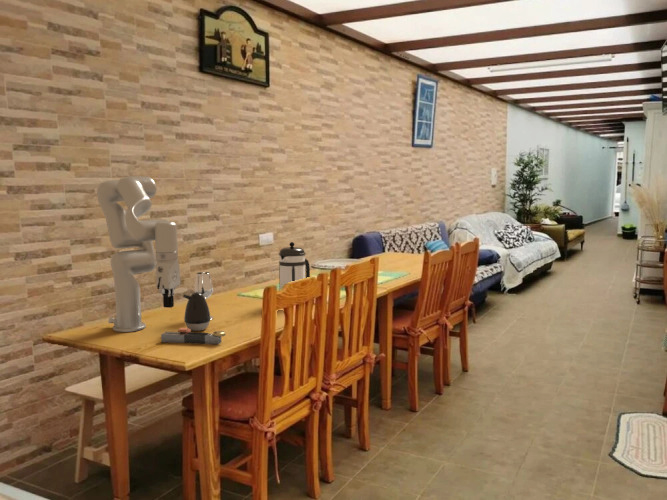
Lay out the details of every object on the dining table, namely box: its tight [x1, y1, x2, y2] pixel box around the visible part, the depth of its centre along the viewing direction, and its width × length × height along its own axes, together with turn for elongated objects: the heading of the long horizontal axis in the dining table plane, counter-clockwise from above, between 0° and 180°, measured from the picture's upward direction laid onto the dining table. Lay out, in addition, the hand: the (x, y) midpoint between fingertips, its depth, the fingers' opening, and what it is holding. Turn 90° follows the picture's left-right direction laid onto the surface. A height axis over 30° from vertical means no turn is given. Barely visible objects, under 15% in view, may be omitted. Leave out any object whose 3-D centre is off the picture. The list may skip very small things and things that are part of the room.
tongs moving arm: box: [160, 332, 221, 346], centre depth 211 cm, size 22×2×3 cm, turn 81°
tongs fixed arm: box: [163, 330, 227, 344], centre depth 212 cm, size 24×4×4 cm, turn 80°
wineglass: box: [193, 271, 215, 321], centre depth 246 cm, size 8×8×20 cm
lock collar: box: [177, 327, 192, 333], centre depth 216 cm, size 3×4×4 cm
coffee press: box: [278, 241, 311, 290], centre depth 274 cm, size 17×16×30 cm
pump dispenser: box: [182, 291, 211, 332], centre depth 229 cm, size 10×10×15 cm
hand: (168, 306), depth 205 cm, fingers closed
